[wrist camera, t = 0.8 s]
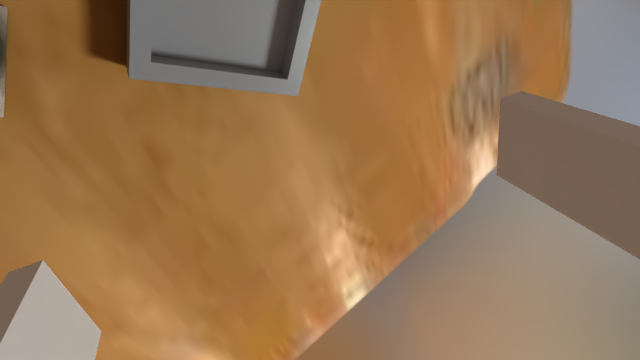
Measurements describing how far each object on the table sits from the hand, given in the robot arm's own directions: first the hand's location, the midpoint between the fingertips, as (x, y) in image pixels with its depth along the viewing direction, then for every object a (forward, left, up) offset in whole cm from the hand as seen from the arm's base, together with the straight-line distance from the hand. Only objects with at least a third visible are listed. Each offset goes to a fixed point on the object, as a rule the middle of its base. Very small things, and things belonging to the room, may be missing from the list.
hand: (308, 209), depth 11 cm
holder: (-2, +5, -27) cm, 28 cm away
